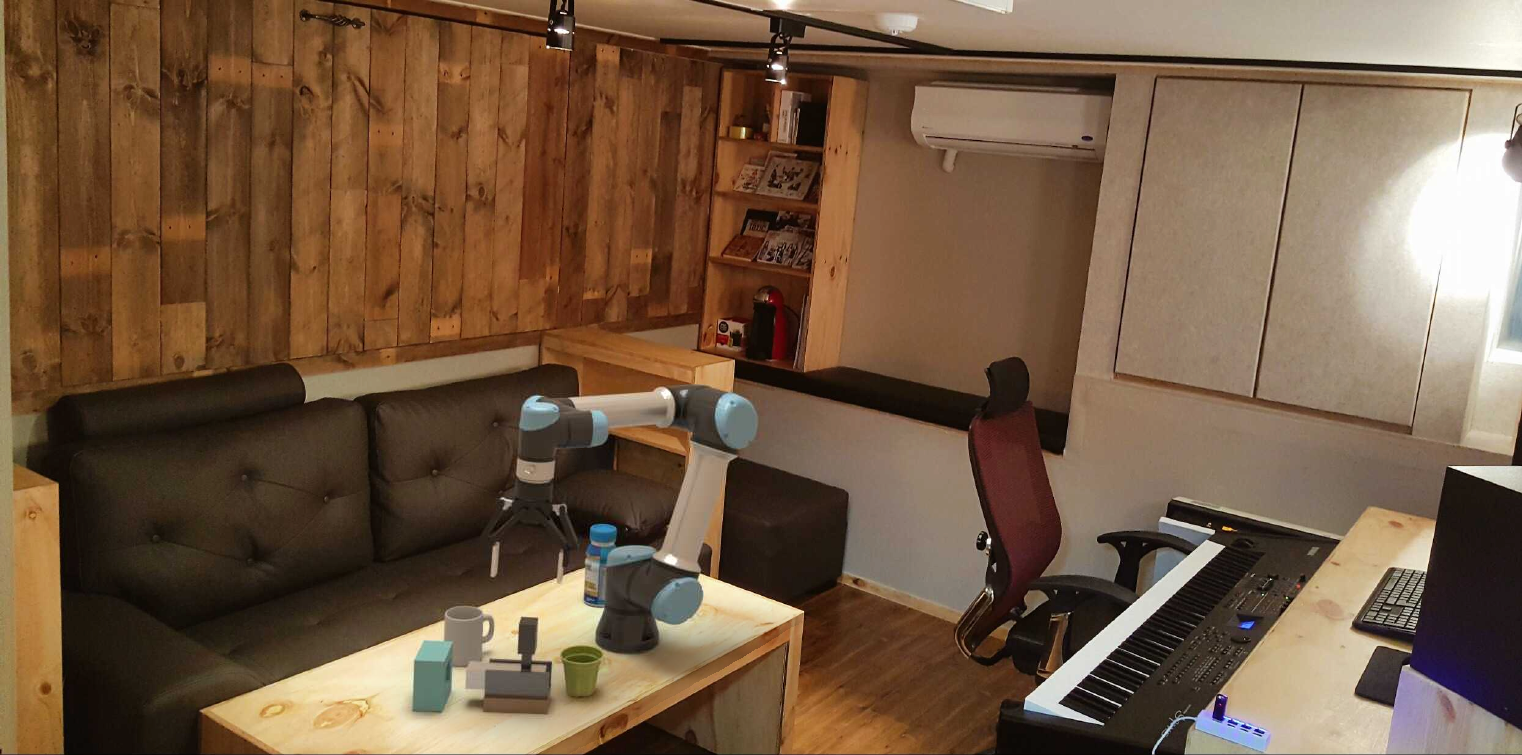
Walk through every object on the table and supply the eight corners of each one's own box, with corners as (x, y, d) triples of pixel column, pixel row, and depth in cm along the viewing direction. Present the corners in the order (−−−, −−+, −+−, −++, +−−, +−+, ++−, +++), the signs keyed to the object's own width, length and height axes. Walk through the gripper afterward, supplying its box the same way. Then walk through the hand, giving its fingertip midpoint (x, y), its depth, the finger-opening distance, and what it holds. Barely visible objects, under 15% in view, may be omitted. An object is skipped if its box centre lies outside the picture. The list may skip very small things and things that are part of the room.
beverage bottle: (613, 609, 306) (617, 534, 302) (580, 606, 306) (584, 531, 302) (617, 597, 314) (622, 524, 311) (585, 594, 314) (589, 521, 311)
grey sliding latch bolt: (545, 683, 253) (549, 617, 250) (543, 692, 249) (547, 625, 246) (468, 679, 252) (471, 614, 249) (465, 688, 248) (467, 622, 245)
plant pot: (582, 705, 253) (584, 667, 251) (548, 692, 258) (550, 654, 256) (610, 690, 261) (613, 653, 259) (577, 678, 266) (579, 641, 264)
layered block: (550, 696, 256) (552, 659, 254) (546, 713, 248) (548, 675, 246) (488, 693, 255) (490, 656, 253) (483, 711, 247) (484, 672, 245)
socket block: (451, 690, 255) (453, 641, 253) (442, 711, 245) (444, 661, 243) (422, 688, 254) (424, 640, 252) (412, 710, 245) (414, 660, 243)
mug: (455, 670, 265) (457, 623, 263) (435, 656, 271) (437, 610, 268) (502, 657, 273) (504, 611, 271) (482, 644, 279) (484, 599, 277)
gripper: (469, 476, 241) (462, 577, 244) (593, 489, 241) (584, 590, 245) (477, 467, 248) (470, 566, 251) (598, 480, 249) (589, 578, 252)
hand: (526, 578), depth 248 cm, fingers open, 13 cm apart
